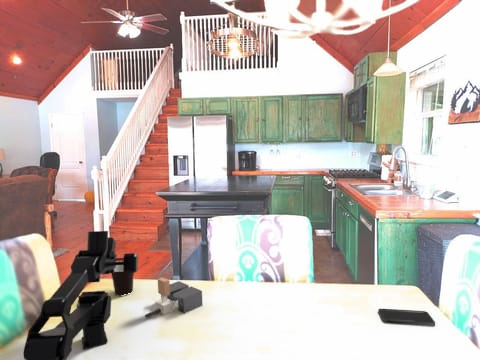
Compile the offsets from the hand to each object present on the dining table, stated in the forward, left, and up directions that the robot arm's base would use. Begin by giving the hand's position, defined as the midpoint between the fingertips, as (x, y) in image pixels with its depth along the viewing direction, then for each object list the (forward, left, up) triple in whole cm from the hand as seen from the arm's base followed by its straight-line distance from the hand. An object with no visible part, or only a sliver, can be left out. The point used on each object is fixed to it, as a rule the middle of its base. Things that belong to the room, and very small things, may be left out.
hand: (116, 262), depth 118 cm
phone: (-58, -77, -16) cm, 98 cm away
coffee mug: (+11, -4, -16) cm, 20 cm away
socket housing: (-11, -20, -15) cm, 27 cm away
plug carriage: (-14, -10, -15) cm, 23 cm away
